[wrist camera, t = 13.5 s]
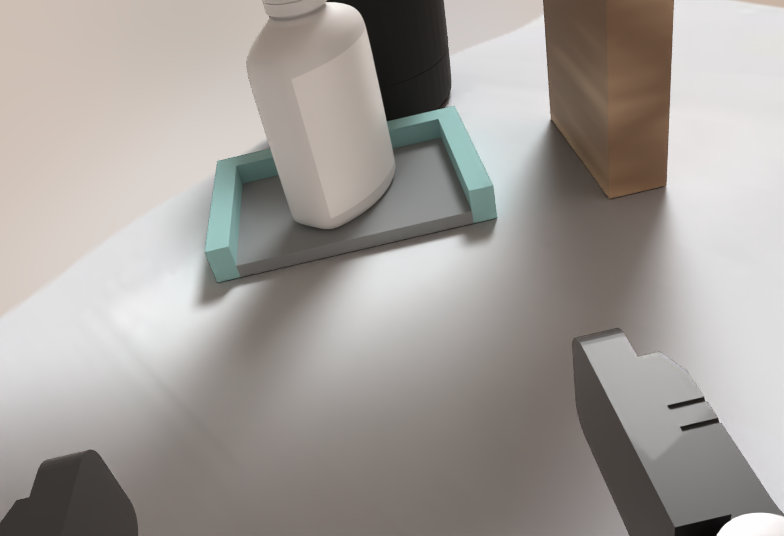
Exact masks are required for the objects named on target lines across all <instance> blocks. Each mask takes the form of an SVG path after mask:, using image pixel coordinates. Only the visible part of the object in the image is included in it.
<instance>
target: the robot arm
mask: <svg viewBox="0 0 784 536" xmlns="http://www.w3.org/2000/svg"><path fill="white" fill-rule="evenodd" d="M572 349H573V366H574V383H575V400H576V407H577V412H578V416H579V420H580V424H581V427H582V430H583V433H584V435H585V438H586V440H587V442H588V444H589V447H590V449H591V451H592V453H593V455H594V458H595V460H596V462H597V464H598V467H599V469H600V471H601V473H602V475H603V478H604V480H605V482H606V484H607V486H608V489H609V491H610V493H611V495H612V498H613V500H614V502H615V504H616V506H617V509H618V511H619V513H620V515H621V518H622V520H623V522H624V524H625V526H626V529H627V531H628V533H629V535H630V536H784V513H783V512H782V511H781V510H780V509H779V508H778V507H777V506H776V504H775V503H774V502H773V500H772V499H771V497H770V496H769V494H768V493H767V491H766V490H765V488H764V487H763V485H762V484H761V482H760V481H759V479H758V478H757V476H756V475H755V473H754V472H753V470H752V469H751V467H750V465H749V464H748V462H747V461H746V459H745V458H744V456H743V455H742V453H741V452H740V450H739V449H738V447H737V446H736V444H735V443H734V441H733V440H732V438H731V437H730V435H729V434H728V432H727V431H726V429H725V428H724V426H723V425H722V423H719V421H718V417H717V416H716V414H715V412H714V411H713V409H712V408H711V406H710V405H709V403H708V402H705V399H704V396H703V394H702V393H701V391H700V390H699V388H698V387H697V385H696V384H695V382H694V381H693V379H692V378H691V376H690V375H689V373H688V372H687V371H686V370H685V369H684V368H682V367H681V366H679V365H678V364H676V363H675V362H674V361H672V360H671V359H669V358H668V357H667V356H665V355H664V354H662V353H661V352H656V353H652V354H647V355H643V356H639V357H638V356H637V354H636V353H635V351H634V349H633V348H632V346H631V344H630V343H629V341H628V339H627V337H626V336H625V334H624V333H623V332H622V330H621V329H619V328H615V329H611V330H606V331H602V332H598V333H594V334H589V335H585V336H581V337H577V338H574V339H573V343H572ZM0 536H138V525H137V518H136V514H135V511H134V508H133V505H132V503H131V502H130V500H129V499H128V497H127V496H126V494H125V493H124V491H123V490H122V488H121V487H120V485H119V484H118V482H117V481H116V479H115V478H114V476H113V475H112V473H111V472H110V470H109V469H108V467H107V466H106V464H105V463H104V461H103V460H102V458H101V457H100V455H99V454H98V453H97V452H96V451H94V450H87V451H83V452H78V453H74V454H70V455H66V456H61V457H57V458H53V459H49V460H46V461H44V462H43V463H42V464H41V465H40V467H39V469H38V472H37V475H36V478H35V481H34V484H33V487H32V490H31V494H30V497H29V498H24V499H20V500H17V501H16V502H15V503H14V505H13V506H12V507H11V509H10V510H9V512H8V513H7V514H6V516H5V517H4V518H3V520H2V521H1V523H0Z"/></svg>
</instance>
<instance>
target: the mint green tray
mask: <svg viewBox="0 0 784 536" xmlns="http://www.w3.org/2000/svg"><path fill="white" fill-rule="evenodd" d="M387 125H388V130H389V135H390V139H391V144H392V149H393V154H394V158H395V165H396V168H395V174H394V177H393V179H392V181H391V184H390V185H389V187H388V189H387V190H386V192H385V193H384V194H383V195H382V196H381V198H380V199H379V200H378V201H377V202H376V203H375V204H374V205H373V206H371V207H370V208H369V209H368V210H366V211H365V212H364V213H362V214H361V215H359V216H358V217H356V218H355V219H353V220H351V221H349V222H348V223H346V224H344V225H342V226H340V227H337V228H334V229H321V228H316V227H312V226H307V225H303V224H300V223H298V222H296V221H295V220H294V219H293V217H292V214H291V211H290V208H289V205H288V202H287V199H286V196H285V193H284V190H283V187H282V184H281V180H280V177H279V174H278V171H277V168H276V165H275V162H274V159H273V156H272V153H271V149H267V150H262V151H258V152H254V153H249V154H245V155H241V156H237V157H232V158H228V159H224V160H220V161H217V167H216V174H215V181H214V188H213V195H212V202H211V209H210V217H209V224H208V231H207V238H206V245H205V254H206V257H207V259H208V262H209V264H210V266H211V269H212V271H213V273H214V276H215V278H216V280H217V283H218V282H222V281H226V280H231V279H235V278H239V277H244V276H248V275H252V274H257V273H261V272H265V271H269V270H274V269H278V268H282V267H287V266H291V265H295V264H300V263H304V262H308V261H313V260H317V259H321V258H326V257H330V256H334V255H339V254H343V253H347V252H352V251H356V250H360V249H365V248H369V247H373V246H377V245H382V244H386V243H390V242H395V241H399V240H403V239H408V238H412V237H416V236H421V235H425V234H429V233H434V232H438V231H442V230H447V229H451V228H455V227H460V226H464V225H468V224H473V223H477V222H481V221H485V220H490V219H494V218H497V213H496V204H495V196H494V188H493V184H492V182H491V180H490V178H489V176H488V174H487V172H486V170H485V167H484V165H483V163H482V161H481V159H480V157H479V155H478V153H477V151H476V149H475V147H474V145H473V143H472V141H471V139H470V137H469V135H468V132H467V130H466V128H465V126H464V124H463V122H462V120H461V118H460V116H459V114H458V112H457V110H456V108H455V106H451V107H447V108H443V109H438V110H434V111H430V112H425V113H421V114H417V115H413V116H408V117H404V118H400V119H395V120H391V121H387Z"/></svg>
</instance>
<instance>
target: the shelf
mask: <svg viewBox="0 0 784 536" xmlns="http://www.w3.org/2000/svg"><path fill="white" fill-rule="evenodd" d="M543 5H544V21H545V37H546V52H547V67H548V83H549V98H550V114H551V119H552V121H553V122H554V123H555V125H556V126H557V127H558V129H559V130H560V132H561V133H562V134H563V136H564V137H565V138H566V140H567V141H568V143H569V144H570V145H571V147H572V148H573V150H574V151H575V152H576V154H577V155H578V156H579V158H580V159H581V161H582V162H583V163H584V165H585V166H586V167H587V169H588V170H589V172H590V173H591V174H592V176H593V177H594V179H595V180H596V181H597V183H598V184H599V185H600V187H601V188H602V190H603V191H604V192H605V194H606V195H607V196H608V198H609V199H611V198H615V197H620V196H624V195H628V194H633V193H637V192H641V191H646V190H650V189H654V188H659V187H663V186H666V182H667V157H668V133H669V108H670V84H671V59H672V34H673V10H674V0H543Z"/></svg>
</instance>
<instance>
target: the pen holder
mask: <svg viewBox="0 0 784 536" xmlns="http://www.w3.org/2000/svg"><path fill="white" fill-rule="evenodd" d="M326 2H335V3H343V4H346V5H350V6H352V7H354V8H355V9H356V10H357V11H358V12H359V13H360V14H361V16H362V18H363V20H364V23H365V26H366V30H367V34H368V38H369V42H370V47H371V51H372V55H373V60H374V65H375V69H376V74H377V79H378V83H379V88H380V92H381V97H382V102H383V106H384V111H385V116H386V121H391V120H395V119H400V118H404V117H408V116H413V115H417V114H421V113H425V112H430V111H434V110H437V109H438V108H439V107H440V106H441V105H442V104H443V103H444V101H445V100H446V98H447V96H448V94H449V92H450V90H451V70H450V59H449V49H448V37H447V27H446V19H445V9H444V1H443V0H327V1H326ZM269 17H270V16H269Z"/></svg>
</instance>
